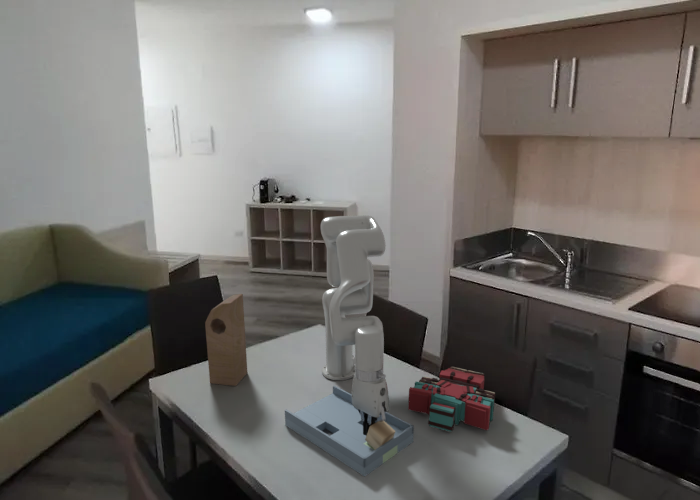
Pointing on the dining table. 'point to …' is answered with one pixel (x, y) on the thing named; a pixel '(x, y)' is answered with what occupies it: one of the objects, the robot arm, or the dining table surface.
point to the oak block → (379, 434)
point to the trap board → (347, 432)
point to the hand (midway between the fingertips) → (369, 433)
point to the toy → (453, 399)
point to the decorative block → (227, 342)
